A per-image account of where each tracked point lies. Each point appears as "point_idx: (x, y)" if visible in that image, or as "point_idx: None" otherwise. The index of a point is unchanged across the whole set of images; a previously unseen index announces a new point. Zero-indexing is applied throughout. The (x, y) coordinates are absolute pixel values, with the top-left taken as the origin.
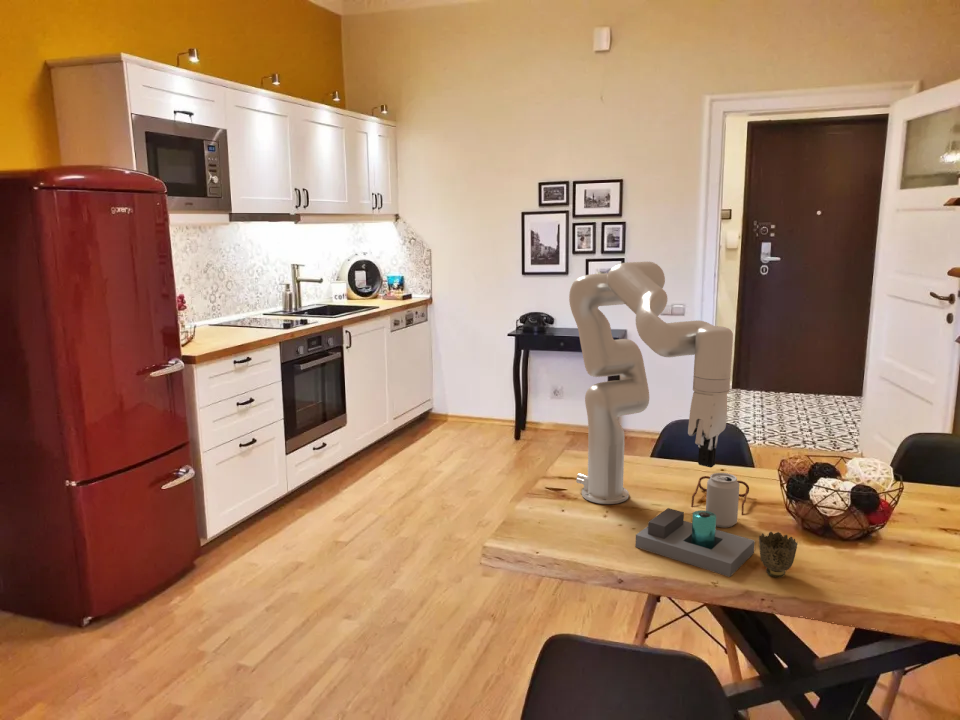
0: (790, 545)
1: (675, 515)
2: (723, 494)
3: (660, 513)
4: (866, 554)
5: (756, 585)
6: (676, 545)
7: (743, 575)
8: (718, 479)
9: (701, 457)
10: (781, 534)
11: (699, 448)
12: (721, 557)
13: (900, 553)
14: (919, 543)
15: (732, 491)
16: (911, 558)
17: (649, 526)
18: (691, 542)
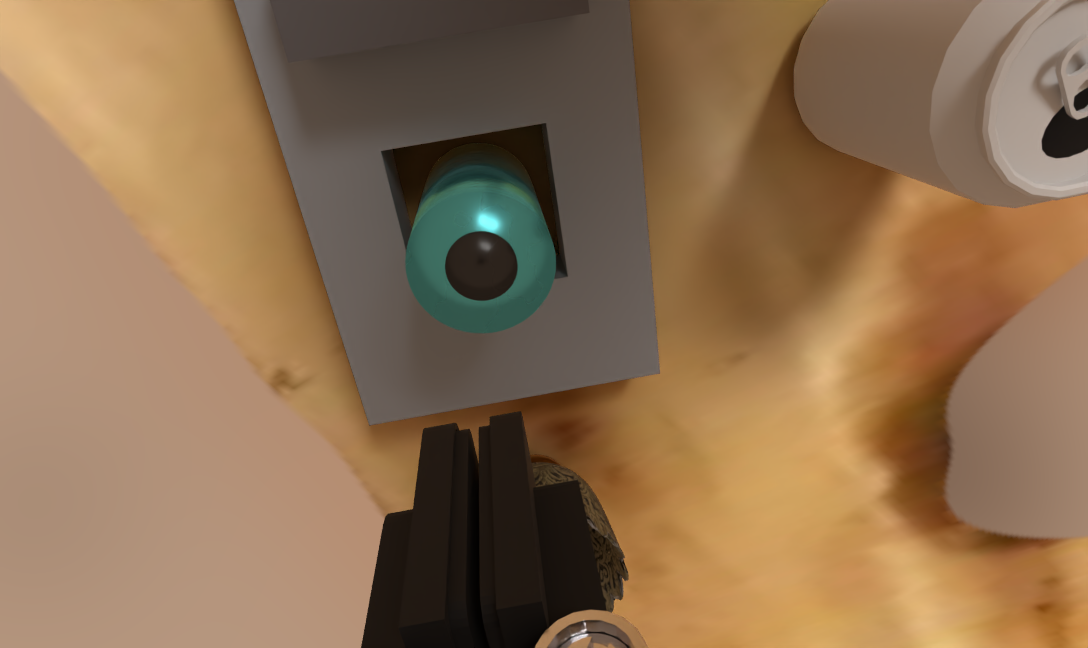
0: (605, 570)
1: (499, 2)
2: (907, 145)
3: None
4: (892, 566)
5: (405, 476)
6: (304, 160)
7: (434, 414)
8: (1049, 65)
9: (379, 569)
10: (624, 557)
11: (400, 620)
12: (387, 373)
13: (958, 612)
14: (1066, 614)
15: (955, 192)
16: (938, 638)
17: None
18: (437, 168)
